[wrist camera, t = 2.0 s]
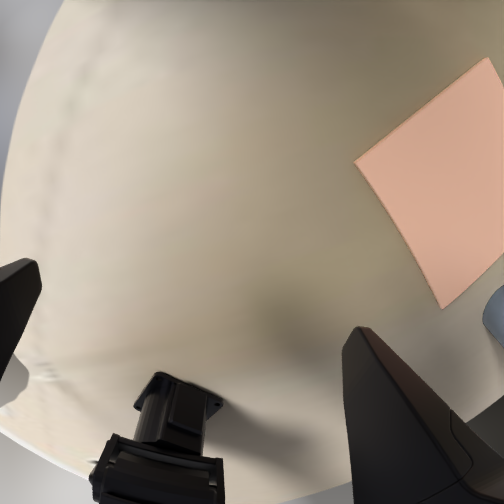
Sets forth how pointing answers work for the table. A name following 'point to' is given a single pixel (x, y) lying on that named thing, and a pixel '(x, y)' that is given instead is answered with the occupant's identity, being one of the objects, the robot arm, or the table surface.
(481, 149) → the terracotta tile
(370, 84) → the table surface
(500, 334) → the slate pillar
